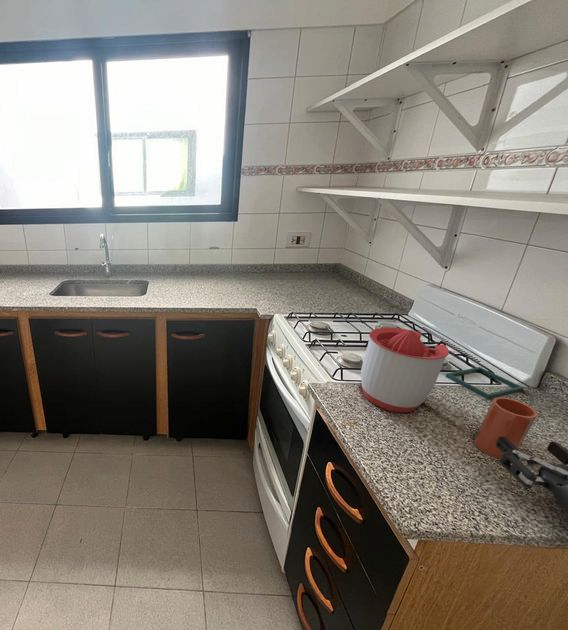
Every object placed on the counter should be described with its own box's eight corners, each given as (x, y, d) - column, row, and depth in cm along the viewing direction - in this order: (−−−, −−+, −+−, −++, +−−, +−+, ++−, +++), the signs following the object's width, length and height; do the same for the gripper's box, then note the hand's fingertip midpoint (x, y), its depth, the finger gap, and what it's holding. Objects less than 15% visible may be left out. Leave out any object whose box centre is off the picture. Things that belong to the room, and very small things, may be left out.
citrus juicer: (448, 413, 84) (479, 340, 76) (387, 423, 81) (413, 349, 73) (394, 377, 98) (415, 313, 90) (340, 385, 95) (357, 319, 87)
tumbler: (487, 435, 77) (507, 395, 73) (521, 456, 71) (545, 414, 67) (466, 441, 76) (485, 400, 71) (499, 463, 70) (522, 420, 66)
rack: (476, 374, 99) (479, 366, 98) (520, 395, 90) (524, 387, 89) (443, 381, 96) (446, 373, 95) (485, 403, 87) (489, 395, 86)
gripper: (685, 511, 49) (578, 431, 64) (568, 497, 52) (490, 423, 66) (655, 544, 52) (559, 461, 67) (545, 530, 55) (475, 452, 69)
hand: (524, 442), depth 67 cm, fingers open, 8 cm apart
